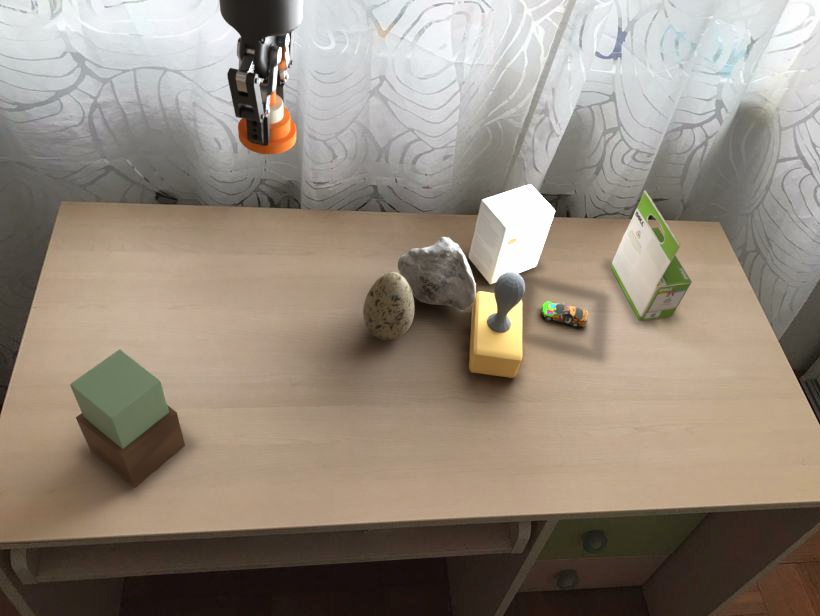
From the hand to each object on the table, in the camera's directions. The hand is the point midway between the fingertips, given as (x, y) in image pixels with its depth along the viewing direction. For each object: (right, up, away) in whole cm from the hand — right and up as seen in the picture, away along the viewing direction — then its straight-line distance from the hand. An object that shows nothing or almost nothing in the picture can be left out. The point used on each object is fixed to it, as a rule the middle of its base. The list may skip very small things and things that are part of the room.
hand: (267, 126), depth 79 cm
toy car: (+34, -20, +18) cm, 43 cm away
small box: (+26, -12, +22) cm, 36 cm away
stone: (+17, -18, +16) cm, 29 cm away
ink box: (+45, -16, +23) cm, 53 cm away
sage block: (-11, -30, -8) cm, 33 cm away
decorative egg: (+12, -22, +11) cm, 27 cm away
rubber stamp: (+25, -23, +13) cm, 36 cm away
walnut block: (-12, -34, -3) cm, 36 cm away
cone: (0, -1, +1) cm, 1 cm away
